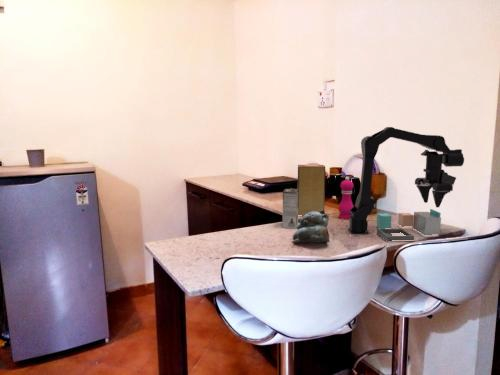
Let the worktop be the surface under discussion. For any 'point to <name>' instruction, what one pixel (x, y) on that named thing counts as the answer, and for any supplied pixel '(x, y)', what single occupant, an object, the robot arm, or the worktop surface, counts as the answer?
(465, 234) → the worktop surface
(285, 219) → the coffee box
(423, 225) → the panel
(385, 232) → the parts tray
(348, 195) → the pepper mill
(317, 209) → the food packaging
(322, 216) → the grey-green lumpy figure
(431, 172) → the robot arm
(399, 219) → the terracotta block
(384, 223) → the teal block
